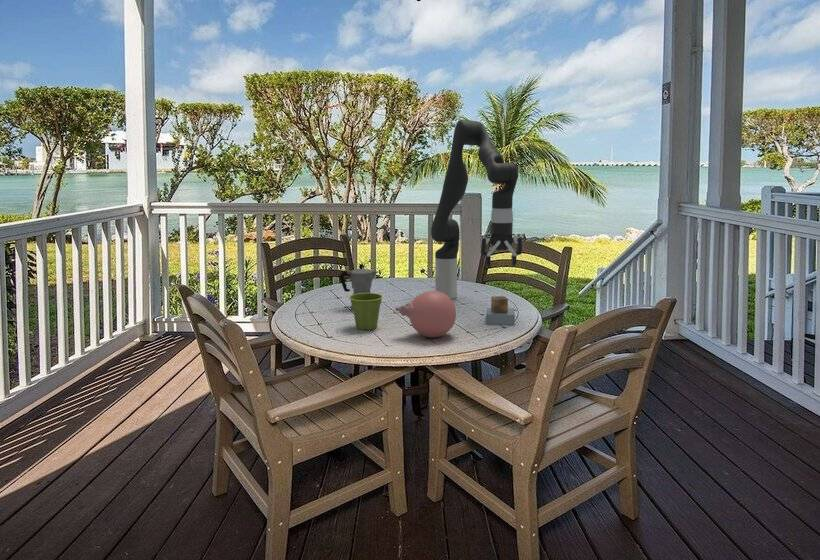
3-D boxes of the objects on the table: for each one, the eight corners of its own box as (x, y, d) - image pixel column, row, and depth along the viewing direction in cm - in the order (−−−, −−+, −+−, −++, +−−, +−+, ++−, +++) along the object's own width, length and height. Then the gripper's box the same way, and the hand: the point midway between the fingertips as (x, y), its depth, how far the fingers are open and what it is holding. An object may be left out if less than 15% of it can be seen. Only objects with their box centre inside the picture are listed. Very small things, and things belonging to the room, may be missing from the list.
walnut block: (493, 313, 211) (494, 299, 210) (491, 309, 216) (491, 296, 215) (507, 313, 211) (507, 299, 210) (504, 309, 216) (505, 296, 215)
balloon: (397, 329, 204) (396, 286, 201) (455, 330, 203) (455, 286, 200) (393, 343, 189) (392, 296, 186) (456, 343, 187) (456, 296, 185)
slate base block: (486, 325, 210) (486, 314, 209) (486, 318, 220) (486, 307, 219) (514, 326, 208) (514, 315, 208) (513, 319, 218) (514, 308, 217)
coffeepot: (375, 304, 241) (374, 261, 237) (381, 310, 232) (380, 264, 228) (338, 307, 236) (336, 263, 233) (342, 313, 228) (341, 267, 224)
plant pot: (343, 330, 204) (342, 298, 202) (360, 322, 215) (359, 291, 212) (374, 333, 199) (373, 301, 197) (389, 325, 210) (388, 294, 208)
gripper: (519, 219, 211) (518, 264, 214) (480, 220, 211) (479, 265, 214) (524, 221, 204) (523, 268, 207) (483, 222, 203) (482, 268, 206)
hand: (500, 266), depth 210 cm, fingers open, 8 cm apart
